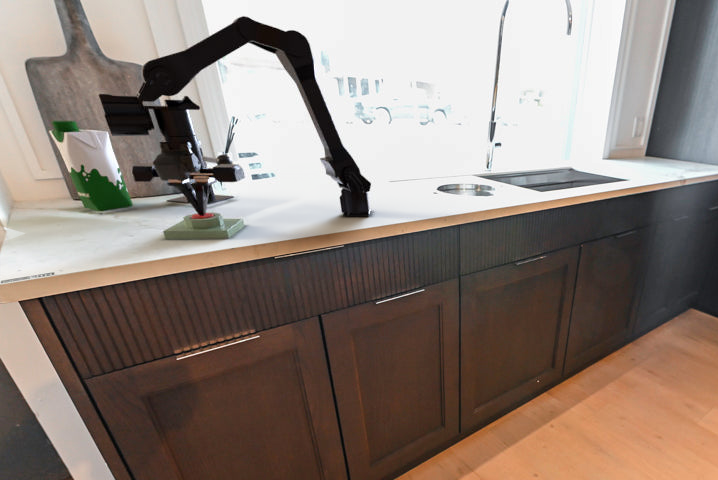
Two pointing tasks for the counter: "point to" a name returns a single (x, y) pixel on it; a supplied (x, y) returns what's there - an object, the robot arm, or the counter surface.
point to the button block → (204, 228)
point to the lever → (218, 159)
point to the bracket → (211, 197)
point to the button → (197, 216)
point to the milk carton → (91, 166)
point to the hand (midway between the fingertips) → (202, 215)
